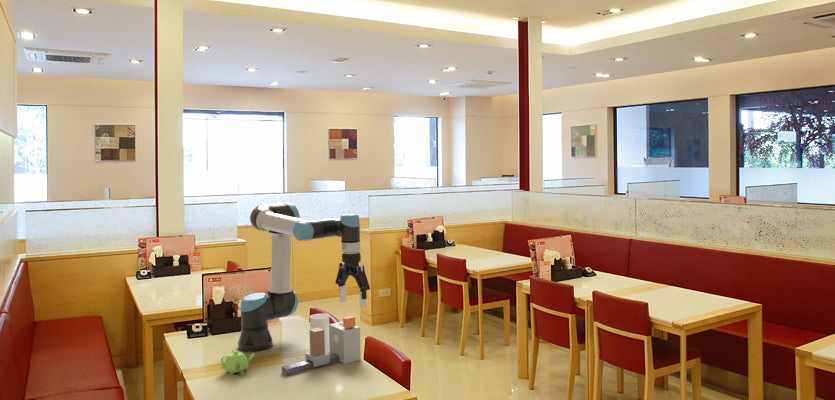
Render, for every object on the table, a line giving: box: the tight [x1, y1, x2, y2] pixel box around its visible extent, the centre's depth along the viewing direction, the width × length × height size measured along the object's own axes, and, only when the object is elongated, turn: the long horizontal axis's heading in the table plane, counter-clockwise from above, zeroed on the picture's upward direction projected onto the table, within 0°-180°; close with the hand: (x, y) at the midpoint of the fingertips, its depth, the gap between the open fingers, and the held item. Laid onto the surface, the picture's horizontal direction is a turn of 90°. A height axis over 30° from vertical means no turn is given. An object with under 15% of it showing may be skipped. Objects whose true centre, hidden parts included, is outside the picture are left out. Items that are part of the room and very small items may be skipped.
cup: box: [309, 313, 330, 354], centre depth 254 cm, size 8×8×16 cm
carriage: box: [305, 328, 330, 367], centre depth 237 cm, size 8×7×14 cm
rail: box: [281, 353, 340, 376], centre depth 236 cm, size 4×24×2 cm, turn 129°
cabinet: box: [329, 320, 362, 365], centre depth 245 cm, size 12×8×14 cm
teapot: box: [219, 350, 256, 376], centre depth 232 cm, size 11×12×8 cm
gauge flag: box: [342, 315, 356, 328], centre depth 241 cm, size 2×4×4 cm, turn 129°
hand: (352, 304), depth 234 cm, fingers open, 13 cm apart
